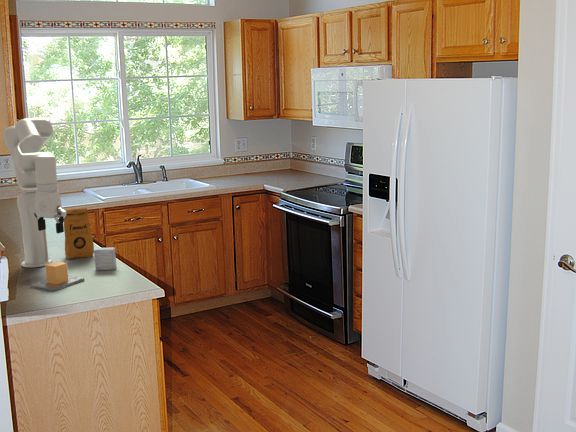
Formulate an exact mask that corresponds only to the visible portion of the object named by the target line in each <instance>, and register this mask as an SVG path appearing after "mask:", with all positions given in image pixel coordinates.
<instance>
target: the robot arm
mask: <svg viewBox="0 0 576 432" xmlns="http://www.w3.org/2000/svg"><path fill="white" fill-rule="evenodd" d="M53 132H54V127H53V124H52V123H51V121H50V119H48V118H46V117H32V118H31V117H30V118H29V117H27V118H22V119H20V120H17V122H15V125H11V126H8V127H6V128H5V129H4V131H3V140H4V144H5V146H6V149H7V151H8V152H9V155H10V156H11V158H12V162H13V167H14V172H15V173H14V174H15V178H16V182H17V186H18V187H19V188H20V189H21V190H31V191H27V192H22V193H21V194H18V196H17V198H16V205H17V209H18V212H19V217H20V224H21V231H22V242H23V251H24V260H23V261H22V262H21V266H22V268H32V269H33V268H41V267H45V265H47V264H50V263H54V261H53V259H52V258H50V257H49V248H48V239H47V238H48V237H47V224H46V219H54V220H55V230H56V231H55V232H56V234H62V233H65V232H64V220H65V218H66V214H67V212H66V211H65V210H66V209H64V208H62V200H61V195H60V189H59V185H58V175H57V159H56V156H55V155H54V153H52V152H50V151H43V152H42V151H41V152H39V151H40V150H41V149H42V148H43V146H44V145H45V144H46V143H48V142H49V140H50V139H51V138H52V136H53ZM32 190H33V191H32Z"/></svg>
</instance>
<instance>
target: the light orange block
mask: <svg viewBox="0 0 576 432" xmlns="http://www.w3.org/2000/svg"><path fill="white" fill-rule="evenodd" d="M44 267H45V278H46V280H47V283H52V284H60V283H63V282H65V281H68V275H69V274H68V273H69V272H68V263H67V262H62V261H61V262H60V261H55V262H54V261H53V263H50V264H47V265H45V266H44Z"/></svg>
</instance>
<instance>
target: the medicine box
mask: <svg viewBox="0 0 576 432" xmlns="http://www.w3.org/2000/svg"><path fill="white" fill-rule="evenodd" d="M93 257H94V265H95V271H109V270H110V271H112V270H116V268H117V259H116V258H117V255H116V247H113V246H112V247H111V246H110V247H97V248H94V253H93Z"/></svg>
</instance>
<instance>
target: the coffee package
mask: <svg viewBox="0 0 576 432" xmlns="http://www.w3.org/2000/svg"><path fill="white" fill-rule="evenodd" d="M64 210H65V211H66V212H67V214H66V218H65V220H64V222H63V227H64V232H63V233H64V256H65V257H66V258H67V259H84V258H93V257H94V250H95V244H94V237H93V235H92V231H91V230H92V229H91V226H90V225H91V224H90V219H89V214H88V208H87V207H84V208H83V207H82V208H74V209H73V208H71V209H64Z"/></svg>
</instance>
